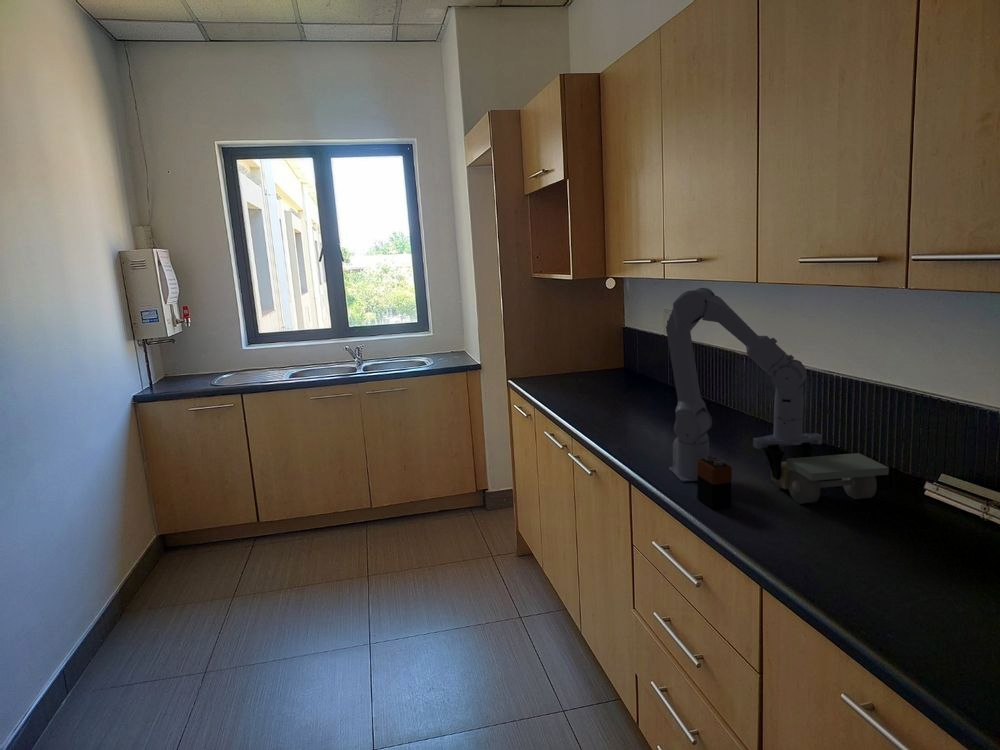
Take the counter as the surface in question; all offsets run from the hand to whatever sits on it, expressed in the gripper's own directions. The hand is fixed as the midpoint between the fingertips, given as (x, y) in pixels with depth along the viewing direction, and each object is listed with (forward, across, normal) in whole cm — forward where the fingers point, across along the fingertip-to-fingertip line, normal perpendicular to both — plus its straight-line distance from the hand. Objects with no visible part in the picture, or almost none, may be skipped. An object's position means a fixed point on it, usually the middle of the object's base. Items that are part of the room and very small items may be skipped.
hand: (786, 477), depth 140 cm
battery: (+3, -18, -4) cm, 19 cm away
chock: (+1, 0, 0) cm, 1 cm away
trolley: (+3, +6, -8) cm, 11 cm away
